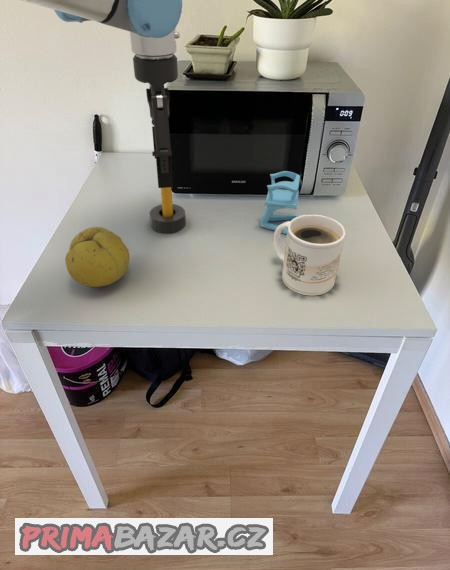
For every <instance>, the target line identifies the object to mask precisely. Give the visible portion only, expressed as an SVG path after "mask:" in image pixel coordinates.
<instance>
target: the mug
mask: <svg viewBox="0 0 450 570" xmlns="http://www.w3.org/2000/svg"><path fill="white" fill-rule="evenodd" d="M277 226H278V227H277V228H276V230H274V233H273V239H272V240H273V242H272V243H273V248H274V250H275V253H276V255H277V257H278V258H279V259H280V261H282V263H283V264H282V272H281V280H282V282H283V284H284V286H286V287H287V288H288V289H289V290H291V291H292V292H295V293H297V294H300V295H303V296H311V297H312V296H313V297H314V296H320V295H324V294H326V293H328V292H330V291H331V290H332V289H333V287H334V286H335V283H336V278H337V274H338V269H339V265H340V261H341V256H342V251H343V247H344V242H345V238H346V230H345V229H346V228H345V227H344V226H343V225H342V223H341V222H339V221H337V220H336V219H334V218H332V217H330V216H326V215H321V214H302V215H299V217H296V218H294V219H291V220H286V221H284V222H283V223H281V224H279V225H277ZM283 228H286V229H287V234H286V239H285V246H284V248H283V247H282V242H281V234H282V233H281V231H282V229H283Z"/></svg>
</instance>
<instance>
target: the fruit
mask: <svg viewBox="0 0 450 570" xmlns="http://www.w3.org/2000/svg"><path fill="white" fill-rule="evenodd" d="M68 248H69V249H68V251H67V253H66V254H65V259H64V261H65V266H66V270H67V273H68V274H69V276H70V277H71V278H72V280H74V282H77V283H78V284H80V285H82V286H85V287H88V288H89V287H90V288H99V287H106V286H108V285H112V284H113V283H115V282H117V281H118V280H120V279H122V277H123V276H124V275H125V273H126V271H127V270H128V267H129V265H130V251H129V249H128V247H127V246H126V244H125V242H124V241H123V239H122V238H121V237H120V236H119V235H117V234H116V233H114V232H113V231H111V230H109V229H107V228H105V227H101V226H92V227H89V228H86V229H83V230H81V231H79V232H78V233H77V234H76V235H75V236H74V237H73V239H72V240H71V242H70V245H69V247H68Z"/></svg>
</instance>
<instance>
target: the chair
mask: <svg viewBox="0 0 450 570" xmlns="http://www.w3.org/2000/svg"><path fill="white" fill-rule="evenodd" d="M269 177H270V179H271V180H270V181H271V184H267V185H266V187H267V190H268V191H267V195H266V198H265V202H264V207H265V206H266V207H265V209H264V211H263V213H262V215H261V220H260V222H259V227H261V228H263V229H268V230H271V231H275V230H276V228H277V227H278V226H279V225H277V224H274V223H271V222H276V221H291V220H293V219H294V218H296V217H299V216H300V214H277V215H276V214H275V215H274V213H276V211H278V210H280V209H281V210H282V209H293V210H297V207H298V200H299V199H298V198H299V194H300V190H299V188H300V182H301V181H300V180H301V179H300V178H301V174H298V173H296V172H293V171H288V170H283V171H282V170H281V171H279V172H276V173H270V174H269ZM281 177H287V178H290V179H291V180H293V181H288V180H283V181H278V182H276V180H275V179H278V178H281ZM287 229H288V228H283V229H282V231H281V234H284V235H287Z"/></svg>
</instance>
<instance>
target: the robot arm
mask: <svg viewBox="0 0 450 570" xmlns="http://www.w3.org/2000/svg"><path fill="white" fill-rule="evenodd" d="M21 1H22V2H26V3H30V4H33V5H37V6H41V7H44V8H47V9H50V10H53V11H54V12H55V15H56V16H57V17H58V18H59V19H60V20H62V21H63V22H66V23H75V22H76V23H80V24H81V23H83V22H89V21H93V22H97V23H100V24H102V25H105V26H110V27H113V28H116V29H120V30H123V31H126V32H129V38H130V46H131V52H132V53H133V54H134V56H133V57H132V63H133V72H134V78H135V80H136V81H138V82H140V83H142V84H148V88H145V92H146V93H145V94H146V100H147V101H146V102H147V104H148V107H149V108H148V109H149V116H150V119H151V125H152V126H151V131H152V141H153V151H152V153H151V155H152V157H154V159H155V164H156V175H157V187H158V189H161V188H168V187H171V188H173V187H174V183H173V182H174V181H173V180H174V179H173V166H172V164H173V163H172V154H173V150H172V147H171V135H170V122H169V121H170V120H169V118H170V100H171V99H170V91H169V88H168V87H165V84H167V83H168V84H169V83H173V82H175V81H176V80H177V79H178V77H179V70H178V57H177V55H175V54H176V52H177V41H176V39H180V37H181V35H180V32H179V31H176V30H177V26H178V24H179V22H180V19H181V17H182V16H181V15H182V13H183V12H182V10H183V0H21Z"/></svg>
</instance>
